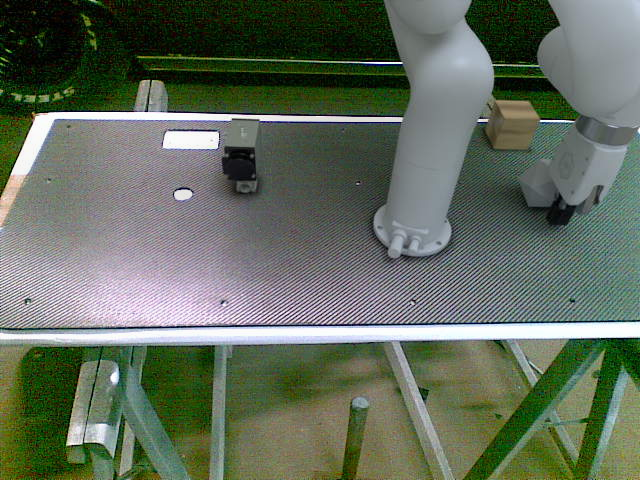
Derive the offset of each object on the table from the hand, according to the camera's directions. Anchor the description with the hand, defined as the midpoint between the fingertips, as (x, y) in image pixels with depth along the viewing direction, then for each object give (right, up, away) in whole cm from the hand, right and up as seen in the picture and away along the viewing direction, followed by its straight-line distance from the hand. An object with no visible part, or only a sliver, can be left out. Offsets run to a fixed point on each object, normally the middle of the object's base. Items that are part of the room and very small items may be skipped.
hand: (555, 221), depth 79 cm
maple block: (-1, +18, +20) cm, 26 cm away
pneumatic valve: (-52, +6, +6) cm, 53 cm away
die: (0, +4, +6) cm, 7 cm away
